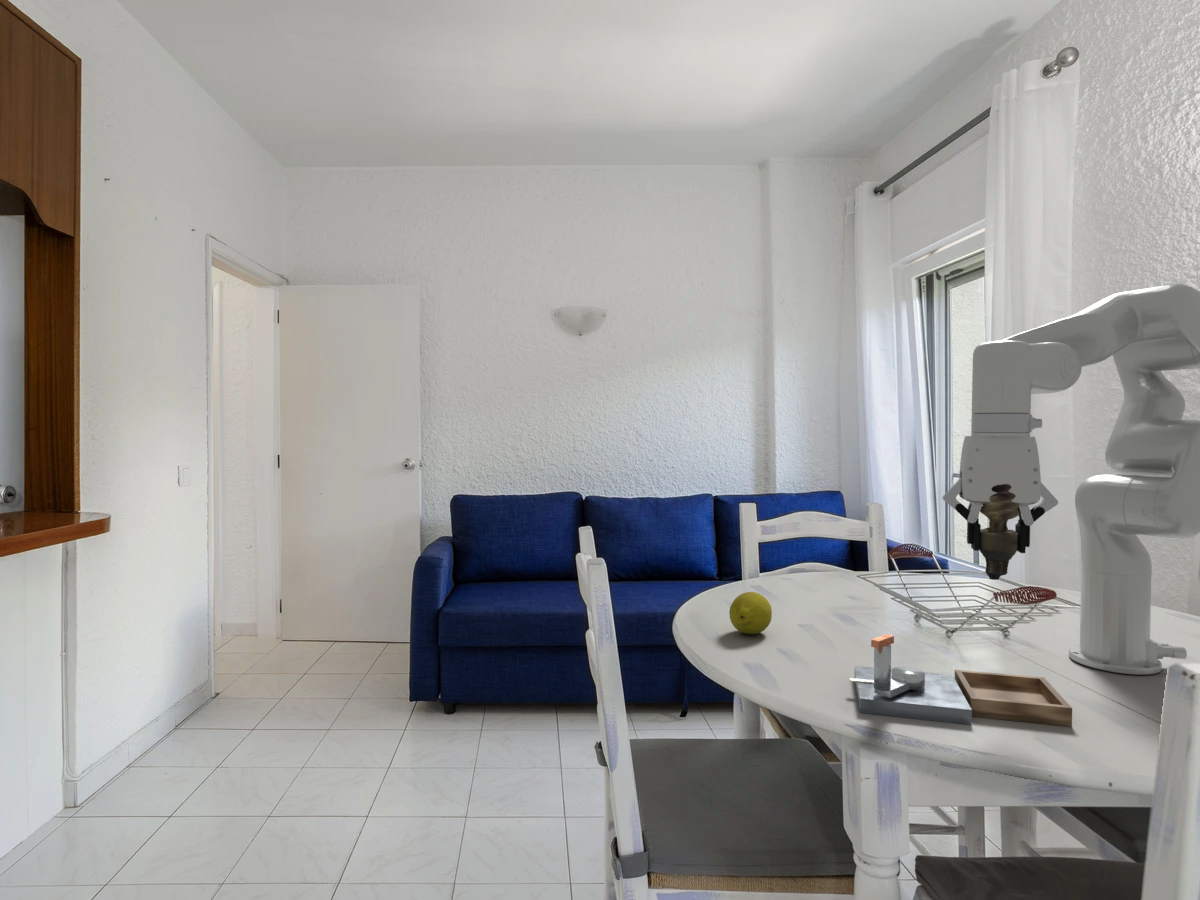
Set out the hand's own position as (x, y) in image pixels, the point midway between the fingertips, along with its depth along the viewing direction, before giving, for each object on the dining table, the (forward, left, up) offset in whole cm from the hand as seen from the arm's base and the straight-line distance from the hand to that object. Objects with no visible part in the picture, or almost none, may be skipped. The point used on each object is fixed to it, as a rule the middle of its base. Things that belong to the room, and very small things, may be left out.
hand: (997, 549), depth 103 cm
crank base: (+13, +5, -22) cm, 26 cm away
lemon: (+38, -22, -22) cm, 49 cm away
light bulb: (0, 0, -5) cm, 5 cm away
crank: (+15, +8, -19) cm, 26 cm away
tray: (-1, +3, -22) cm, 22 cm away
